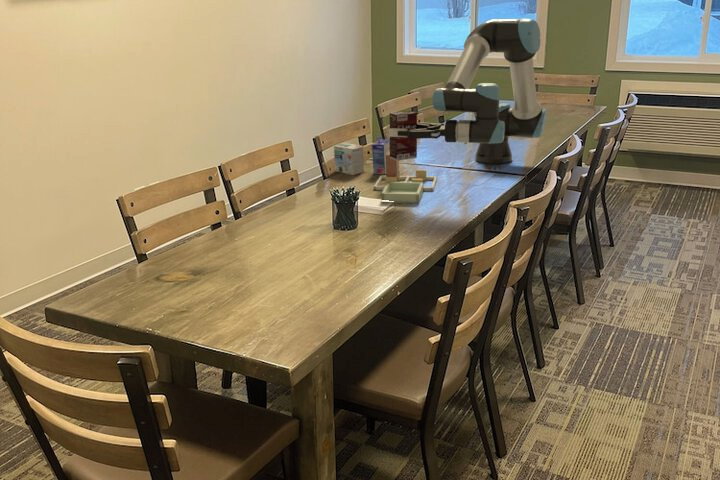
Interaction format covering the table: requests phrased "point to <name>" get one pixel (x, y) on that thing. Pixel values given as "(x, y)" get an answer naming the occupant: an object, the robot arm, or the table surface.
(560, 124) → the table surface
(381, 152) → the ink cartridge box
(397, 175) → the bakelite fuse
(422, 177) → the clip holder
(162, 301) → the table surface
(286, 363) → the table surface
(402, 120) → the supplement box
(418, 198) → the tray
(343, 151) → the light bulb box
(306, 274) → the table surface
